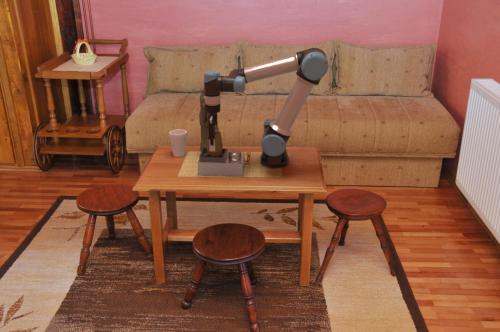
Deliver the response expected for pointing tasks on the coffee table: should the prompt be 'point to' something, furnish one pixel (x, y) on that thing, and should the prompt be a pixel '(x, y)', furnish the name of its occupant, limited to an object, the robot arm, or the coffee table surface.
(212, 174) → the grey box with recess
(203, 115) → the dark brown statue
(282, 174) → the coffee table surface
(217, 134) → the squeeze bottle
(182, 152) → the foam cup
